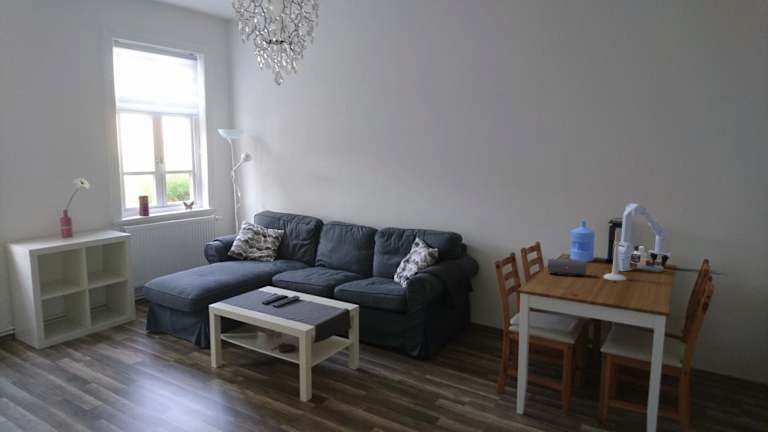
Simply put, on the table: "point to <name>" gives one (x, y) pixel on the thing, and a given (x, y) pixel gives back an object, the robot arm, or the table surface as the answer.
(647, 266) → the grey rimmed tray
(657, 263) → the tan matte cube
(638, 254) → the medicine bottle
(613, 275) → the candlestick
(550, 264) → the bluetooth speaker
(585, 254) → the water jug
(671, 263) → the table surface
